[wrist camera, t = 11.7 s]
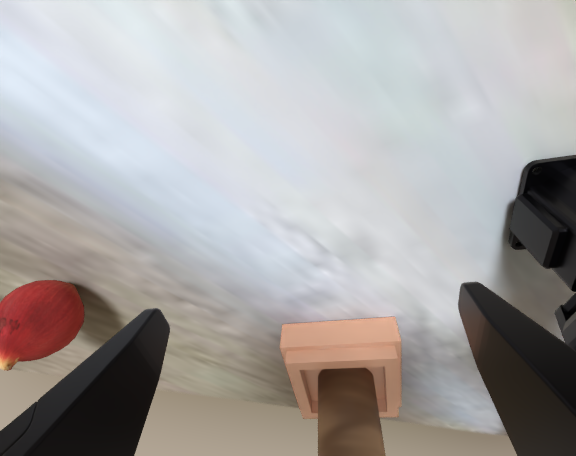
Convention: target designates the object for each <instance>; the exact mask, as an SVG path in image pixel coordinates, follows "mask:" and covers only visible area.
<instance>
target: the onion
mask: <svg viewBox="0 0 576 456" xmlns="http://www.w3.org/2000/svg"><path fill="white" fill-rule="evenodd" d="M83 323H84V305H83V303H82V301H81V299H80V296H79V294H78V292H77V289H76V287H75V286H74V285H73V284H70V283H66V282H62V281H57V280H43V281H35V282H32V283H29V284H26V285H23V286H21V287H19V288H17V289H15V290H14V291H12V292H11V293H9V294H8V295H7V296H5V298H4V299H3V300H2V301H1V303H0V369H2V370H7V371H8V370H11V369H12V367H13V366H14V365H15V364H16V363H17V362H18V361H31V360H37V359H41V358H44V357H47V356H49V355H51V354H53V353H55V352H57V351H59V350H61V349H62V348H64V347H65V346H67V345H68V344H69V343H70V342H71V341H72V340H73V339H74V338H75V337H76V335H77V333H78V332H79V330H80V328H81V326H82V324H83Z"/></svg>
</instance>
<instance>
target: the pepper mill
mask: <svg viewBox="0 0 576 456" xmlns="http://www.w3.org/2000/svg"><path fill="white" fill-rule="evenodd" d="M318 456H385V450H384V443H383V437H382V431H381V424H380V417H379V410H378V404H377V397H376V391H375V384H374V378H373V374H372V373H371V372H370V371H369V370H368V369H367V368H365V367H364V368H341V369H323V370H321V372H320V373H319V375H318Z"/></svg>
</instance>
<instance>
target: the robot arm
mask: <svg viewBox="0 0 576 456" xmlns="http://www.w3.org/2000/svg"><path fill="white" fill-rule="evenodd" d="M536 167H538V169H537V170H536V171H534V172H532V171H533V169H535V168H536ZM510 230H511V233H510V238H509V244H510V246H511V247H512V248H513V249H515V250H520V249H528V251H529V252H530V253H531V254H532V255H533V256H534V258H535V259H536V260H537V261H538V262H539V263H540V264H541V265H542V266H543V267H544V268H546V269H549V268H552V269H553V270H554V271H555V272H556V274H557V275H558V276H559V277H560V278H561V279H562V280H563V281H564V282H565V284H566V285H567V286H568V287H569V288H570V289H571V290H572V291H573V292H576V155H572V156H564V157H557V158H550V159H542V160H535V161H532V162H530V163H528V164H527V166H526V167H525V169H524V174H523V178H522V183H521V188H520V192H519V195H518V196H517V198H516V201H515V205H514V210H513V214H512V219H511V224H510ZM518 241H520V242H518ZM517 242H518V243H517ZM458 308H459V313H460V316H461V319H462V322H463V325H464V328H465V331H466V335H467V338H468V341H469V344H470V347H471V350H472V353H473V356H474V359H475V362H476V365H477V367H478V370H479V372H480V374H481V376H482V379H483V381H484V383H485V385H486V387H487V390H488V392H489V394H490V396H491V398H492V401H493V403H494V405H495V407H496V409H497V412H498V414H499V416H500V418H501V420H502V423H503V425H504V427H505V429H506V432H507V434H508V436H509V438H510V440H511V442H512V445H513V447H514V449H515V451H516V454H517V456H576V293H575V294H574V295H573V296H572V297H571V298H570V299H569V300H568V301H567V302H566V303H565V304H564V305H561V306H560V307H559V308H558V309H557V310H556V311H555V315H556V318H557V321H558V324H559V327H560V330H561V332H562V335H563V338H564V341H565V343H564V342H563V341H561V340H560V339H558V338H557V337H556V336H554V335H553V334H551V333H550V332H549V331H547V330H546V329H544V328H543V327H541V326H540V325H539V324H537V323H536V322H534V321H533V320H532V319H530V318H529V317H527V316H526V315H525V314H523V313H522V312H520V311H519V310H518V309H516V308H515V307H513V306H512V305H510V304H509V303H508V302H506V301H505V300H503V299H502V298H501V297H499V296H498V295H496V294H495V293H494V292H492V291H491V290H489V289H488V288H486V287H485V286H484V285H482V284H481V283H479V282H467V283H462V284H461V287H460V294H459V301H458ZM169 333H170V327H169V324H168V322H167V320H166V319H165V317H164V315H163V314H162V312H161V310H159V309H157V308H154V309H146V310H144V311H143V312H142V313H141V314H139V315H138V316H137V317H136V318H135V319H133V320H132V321H131V322H130V323H129V324H128V325H126V326H125V327H124V328H123V329H122V330H120V331H119V332H118V333H117V334H116V335H114V336H113V337H112V338H111V339H110V340H109V341H107V342H106V343H105V344H104V345H103V346H101V347H100V348H99V349H98V350H97V351H95V352H94V353H93V354H92V355H91V356H90V357H88V358H87V359H86V360H85V361H84V362H82V363H81V364H80V365H79V366H78V367H76V368H75V369H74V370H73V371H72V372H71V373H69V374H68V375H67V376H66V377H65V378H63V379H62V380H61V381H60V382H59V383H58V384H56V385H55V386H54V387H53V388H52V389H50V390H49V391H48V392H47V393H46V394H45V395H43V396H42V397H41V398H40V399H39V400H38V402H35V403H34V404H32V405H31V406H30V407H29V408H28V409H27V410H25V411H24V412H23V413H22V414H21V415H20V416H18V417H17V418H16V419H15V420H14V421H12V422H11V423H10V424H9V425H7V426H6V427H5V428H4V429H2V430H1V431H0V456H134V454H135V451H136V448H137V445H138V442H139V439H140V436H141V433H142V430H143V427H144V424H145V421H146V418H147V415H148V412H149V408H150V405H151V403H152V399H153V396H154V394H155V390H156V387H157V384H158V381H159V377H160V374H161V369H162V365H163V360H164V356H165V351H166V347H167V342H168V338H169Z"/></svg>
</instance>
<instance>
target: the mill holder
mask: <svg viewBox="0 0 576 456" xmlns="http://www.w3.org/2000/svg"><path fill="white" fill-rule="evenodd" d="M280 350H281V353H282V356H283V359H284V362H285V365H286V369H287V372H288V375H289V378H290V381H291V384H292V387H293V390H294V393H295V396H296V400H297V403H298V406H299V409H300V410H301V414H302V416H303V419H316V418H317V419H318V375H319V373H320V372H321V370H323V369H341V368H364V367H365V368H367V369H368V370H369V371H370V372H371V373H372V374H373V378H374V384H375V391H376V397H377V404H378V410H379V417H399V407H401V338H400V334H399V330H398V326H397V322H396V318H395V317H383V318H368V319H353V320H339V321H324V322H309V323H294V324H282V332H281V341H280Z"/></svg>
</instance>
